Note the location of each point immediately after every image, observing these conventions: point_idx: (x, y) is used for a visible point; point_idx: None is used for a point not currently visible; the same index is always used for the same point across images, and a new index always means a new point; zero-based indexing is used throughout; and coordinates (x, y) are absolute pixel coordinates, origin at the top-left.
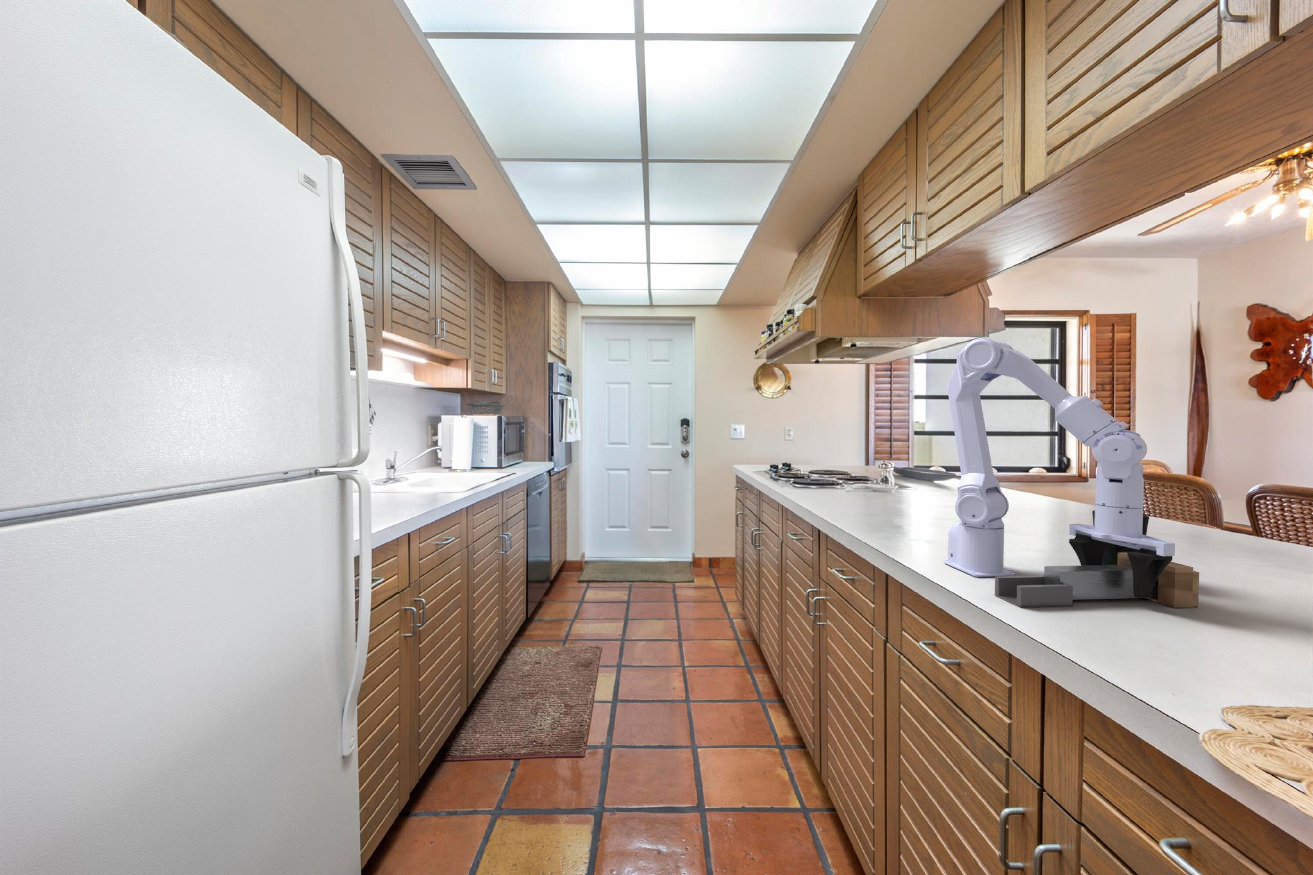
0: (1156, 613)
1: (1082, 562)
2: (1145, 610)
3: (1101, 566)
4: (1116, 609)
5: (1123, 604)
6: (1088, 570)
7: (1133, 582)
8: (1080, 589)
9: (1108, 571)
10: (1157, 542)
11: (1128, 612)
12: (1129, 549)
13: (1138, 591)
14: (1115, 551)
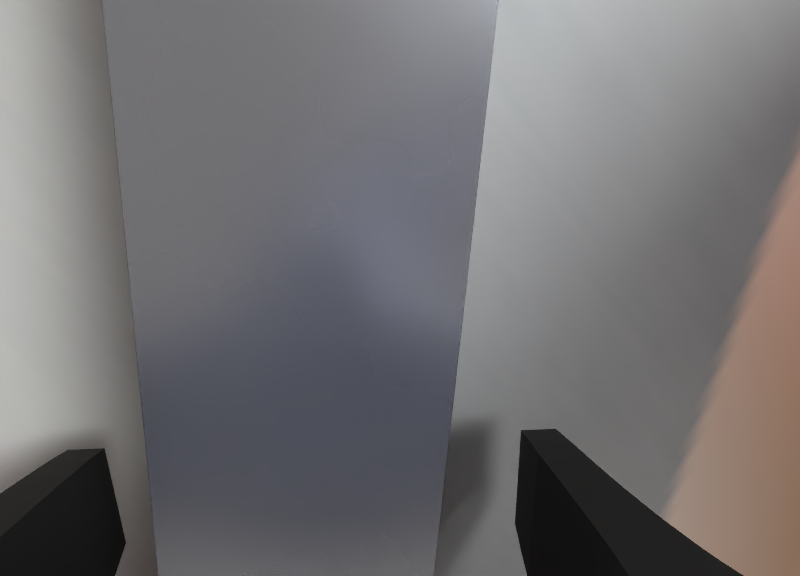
0: (3, 423)
1: (652, 542)
2: (66, 407)
3: (371, 562)
4: (78, 204)
5: None
6: (152, 160)
7: (6, 524)
8: None
9: (148, 461)
10: None
11: (6, 236)
12: None
13: (26, 481)
14: None
